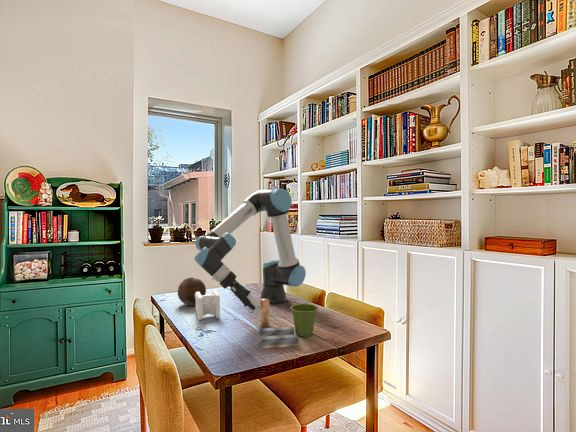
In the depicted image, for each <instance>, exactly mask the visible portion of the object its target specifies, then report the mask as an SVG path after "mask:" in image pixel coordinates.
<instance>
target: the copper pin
mask: <svg viewBox="0 0 576 432" xmlns="http://www.w3.org/2000/svg"><path fill="white" fill-rule="evenodd" d="M259 302H260V304H259V305H260V307H259V309H260V310H261V311H262V312H261V313H260V314H259V316H260V327H261V328H270V304H269V299H268V298H263V299H259Z"/></svg>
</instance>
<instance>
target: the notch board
mask: <svg viewBox="0 0 576 432" xmlns="http://www.w3.org/2000/svg"><path fill="white" fill-rule="evenodd" d="M258 334H259V335H258V336H259V337H258V338H259V342H260V347H261V350H262V349H276V348H277V349H278V348H288V347H290V346H294V347H298V346H299V337H298V336H299V335H297V334H296V333H295V327H294V326H281V327H278V326H277V327H261V328H259V329H258ZM290 348H291V347H290Z"/></svg>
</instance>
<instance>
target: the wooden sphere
mask: <svg viewBox="0 0 576 432" xmlns="http://www.w3.org/2000/svg"><path fill="white" fill-rule="evenodd" d="M196 292H200V294H201V296H202V295H207V288H206V285H205V283H204V282H203V280H201V279H200V278H198V277H188V278H186V279H184V280H182V281H181V282H180V283H179V285H178V288H177V296H178V299H179V300H180V302H181V303H182V304H184V305H187V306H196V298H195V293H196Z"/></svg>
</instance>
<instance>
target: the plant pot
mask: <svg viewBox="0 0 576 432" xmlns="http://www.w3.org/2000/svg"><path fill="white" fill-rule="evenodd" d="M289 309H290V310H291V314H292V317H293V318H292V319H293V324H294V325H293V327H294V334H297V336H299V337H302V336H303V338H304V337H305V338H307V336H308V337H310V336H312V335H313V333H314V327H315V322H316V317H317V313H318V310H319V307H318V306H317V305H315V304H309V303H295V304H292V305H291V306H290V307H289Z"/></svg>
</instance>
